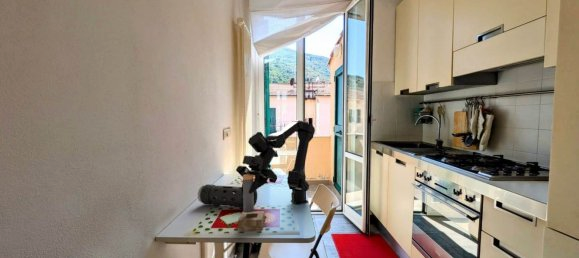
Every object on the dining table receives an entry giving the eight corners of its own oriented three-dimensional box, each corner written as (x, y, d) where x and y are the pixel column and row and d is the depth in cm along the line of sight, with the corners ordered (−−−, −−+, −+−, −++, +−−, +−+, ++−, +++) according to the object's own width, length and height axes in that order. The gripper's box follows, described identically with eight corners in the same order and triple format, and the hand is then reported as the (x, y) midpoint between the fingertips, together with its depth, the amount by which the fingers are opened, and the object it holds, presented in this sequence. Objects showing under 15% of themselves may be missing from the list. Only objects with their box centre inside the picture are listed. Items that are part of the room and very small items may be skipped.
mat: (239, 213, 116) (239, 212, 116) (248, 219, 109) (248, 218, 109) (219, 218, 111) (219, 217, 111) (227, 225, 104) (227, 223, 104)
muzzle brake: (249, 212, 117) (248, 190, 116) (197, 208, 126) (195, 187, 125) (258, 205, 126) (257, 184, 125) (209, 201, 135) (208, 182, 135)
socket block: (264, 220, 107) (264, 211, 106) (262, 230, 98) (261, 219, 97) (243, 221, 107) (242, 211, 107) (238, 231, 98) (237, 220, 98)
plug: (251, 208, 105) (250, 174, 105) (255, 211, 101) (254, 175, 102) (242, 210, 103) (241, 175, 103) (245, 213, 99) (245, 176, 100)
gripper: (238, 146, 110) (217, 178, 102) (270, 148, 99) (251, 184, 91) (252, 162, 117) (234, 192, 109) (285, 165, 105) (267, 200, 97)
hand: (245, 192), depth 101 cm, fingers closed on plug, 4 cm apart
